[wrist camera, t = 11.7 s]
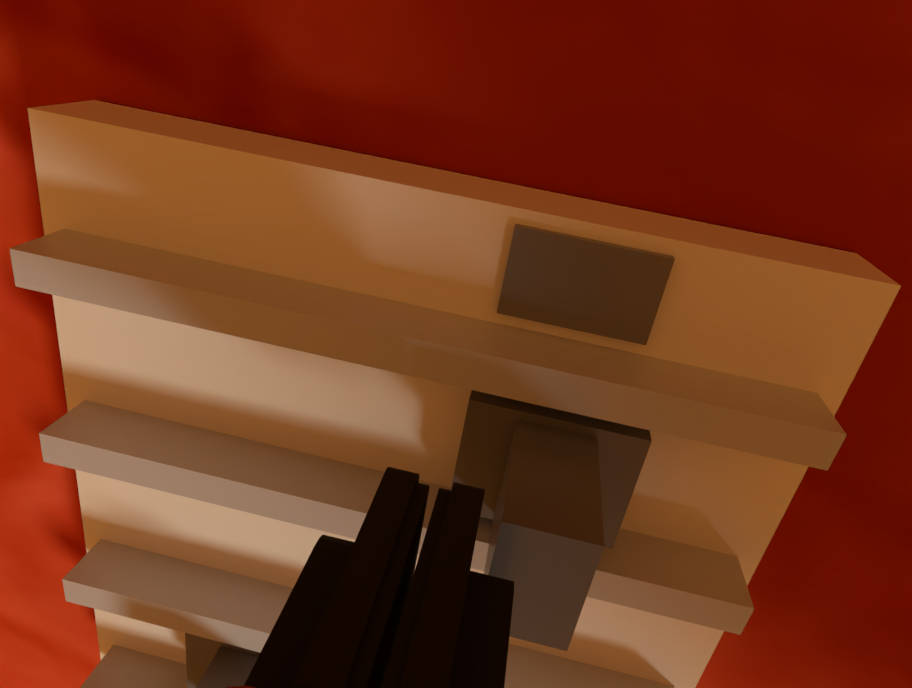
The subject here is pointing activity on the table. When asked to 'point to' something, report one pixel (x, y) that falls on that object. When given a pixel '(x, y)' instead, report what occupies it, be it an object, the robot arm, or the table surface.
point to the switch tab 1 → (216, 663)
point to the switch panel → (408, 378)
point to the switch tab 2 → (548, 503)
